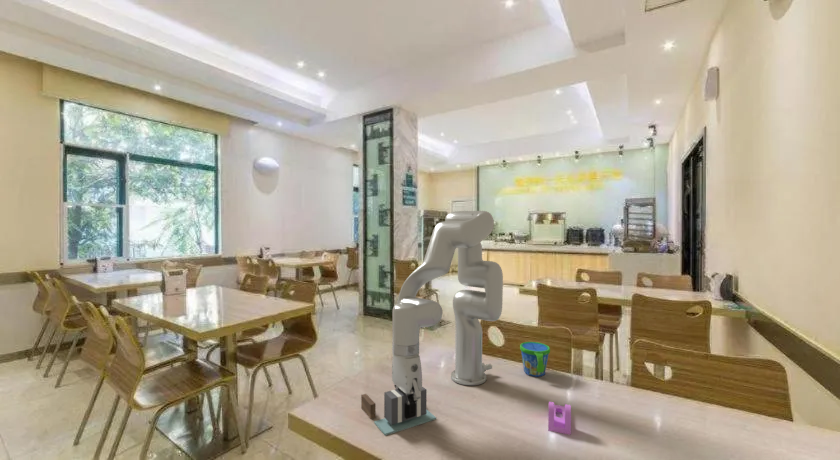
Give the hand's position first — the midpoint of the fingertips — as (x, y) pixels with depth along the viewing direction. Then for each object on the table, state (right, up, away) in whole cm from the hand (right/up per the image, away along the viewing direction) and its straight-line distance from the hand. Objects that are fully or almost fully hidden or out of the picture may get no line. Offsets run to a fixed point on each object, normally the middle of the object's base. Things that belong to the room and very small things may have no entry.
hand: (405, 412), depth 103 cm
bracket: (+43, -3, +1) cm, 43 cm away
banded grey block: (0, -1, 0) cm, 1 cm away
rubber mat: (0, -3, 0) cm, 3 cm away
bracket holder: (-5, -2, +8) cm, 10 cm away
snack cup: (+46, -2, +33) cm, 57 cm away
